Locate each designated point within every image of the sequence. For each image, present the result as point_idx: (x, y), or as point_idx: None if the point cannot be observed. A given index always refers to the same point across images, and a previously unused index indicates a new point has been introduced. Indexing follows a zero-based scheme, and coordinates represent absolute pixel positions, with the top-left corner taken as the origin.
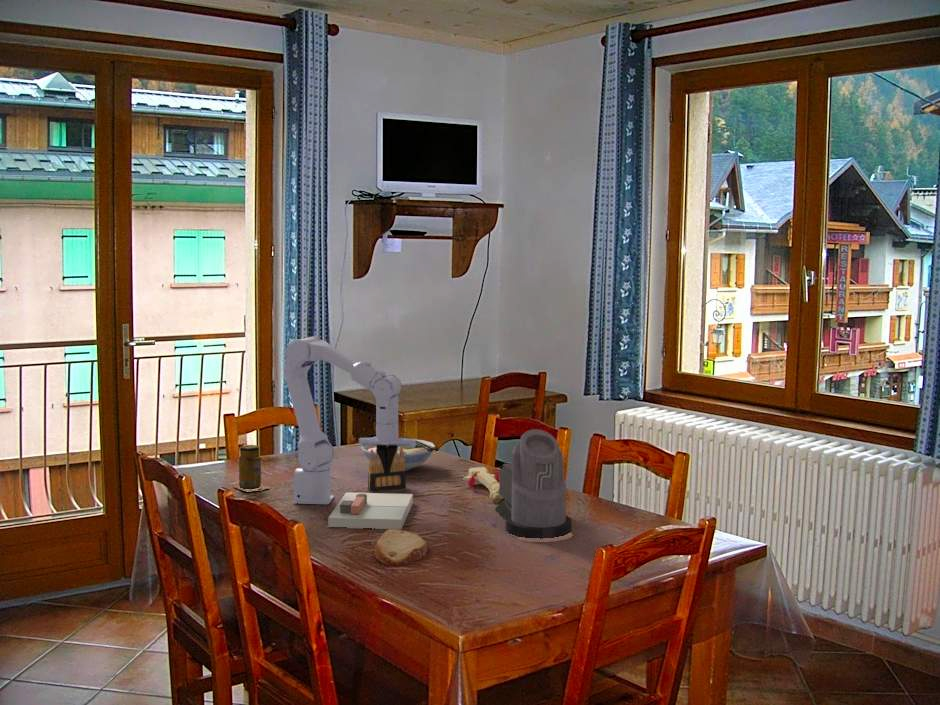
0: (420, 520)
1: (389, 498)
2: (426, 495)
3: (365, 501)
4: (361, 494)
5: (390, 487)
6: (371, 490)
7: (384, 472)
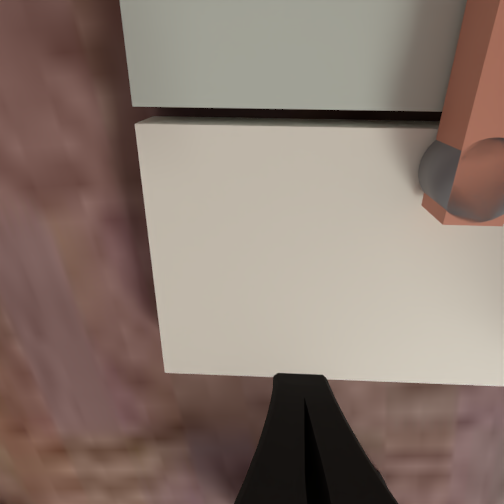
0: (49, 21)
1: (276, 295)
2: (144, 436)
3: (435, 150)
4: (481, 205)
5: None
6: None
7: (325, 387)
